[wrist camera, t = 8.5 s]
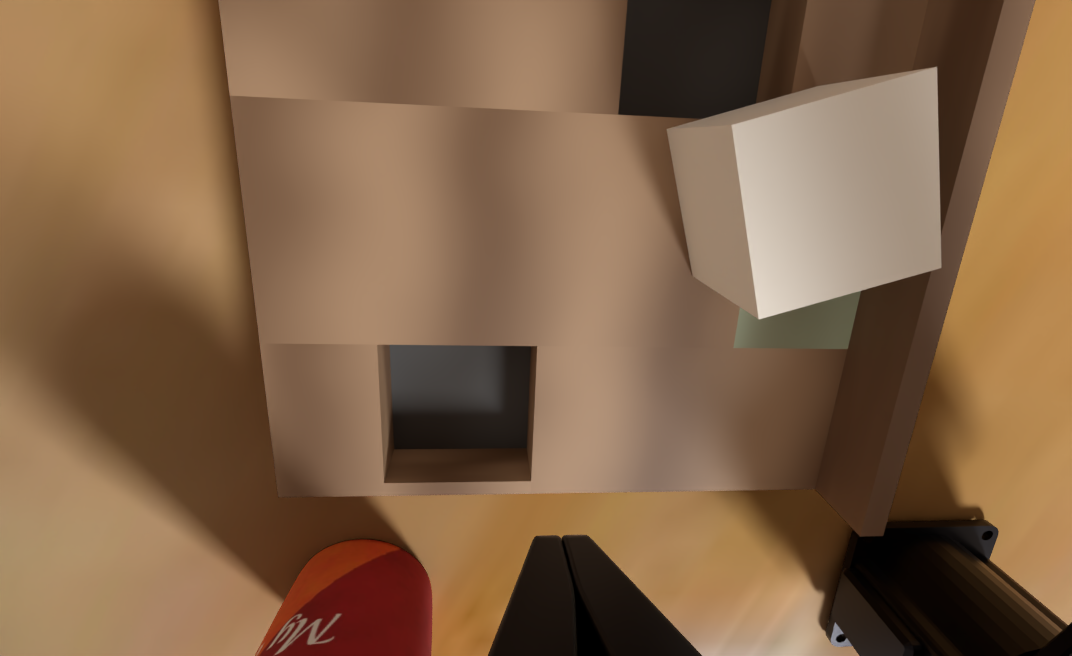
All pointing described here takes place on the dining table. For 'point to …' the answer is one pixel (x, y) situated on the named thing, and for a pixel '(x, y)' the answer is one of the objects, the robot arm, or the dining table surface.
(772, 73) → the trap board
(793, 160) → the block
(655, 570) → the dining table surface
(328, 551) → the paper cup
